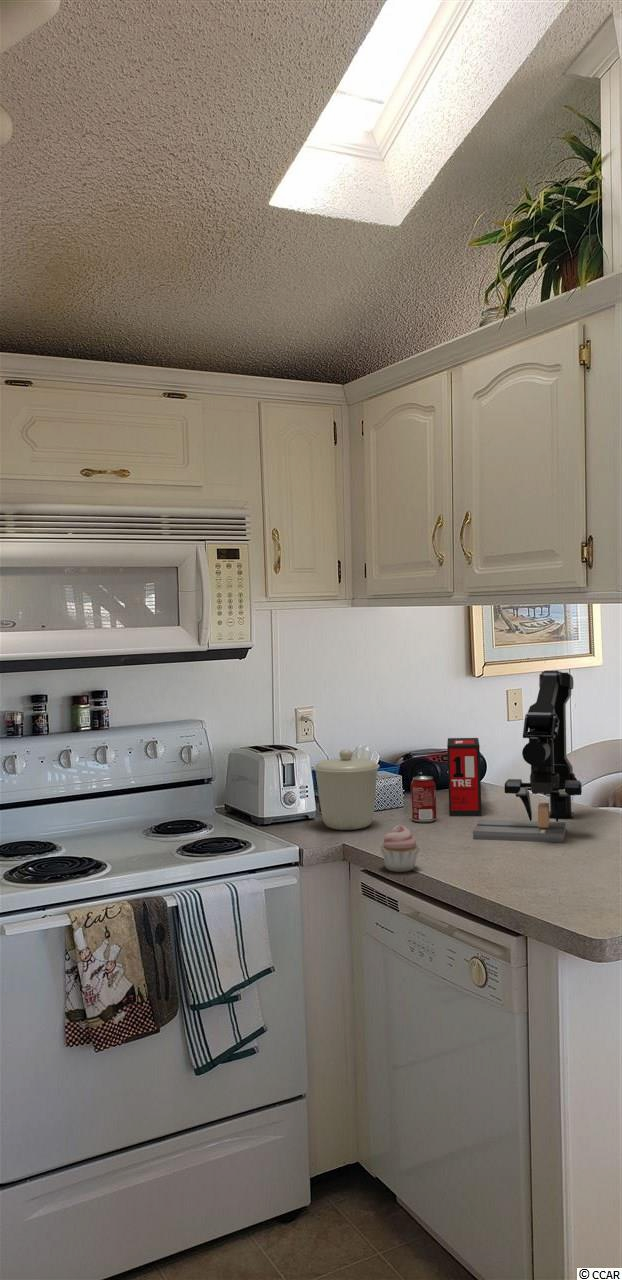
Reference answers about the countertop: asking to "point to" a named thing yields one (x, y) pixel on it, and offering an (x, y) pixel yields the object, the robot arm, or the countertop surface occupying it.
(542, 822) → the tan rectangular block
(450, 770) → the cleaning product box
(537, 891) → the countertop surface
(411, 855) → the cupcake
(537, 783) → the robot arm
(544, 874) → the countertop surface
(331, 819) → the canister
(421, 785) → the soda can
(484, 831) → the console
